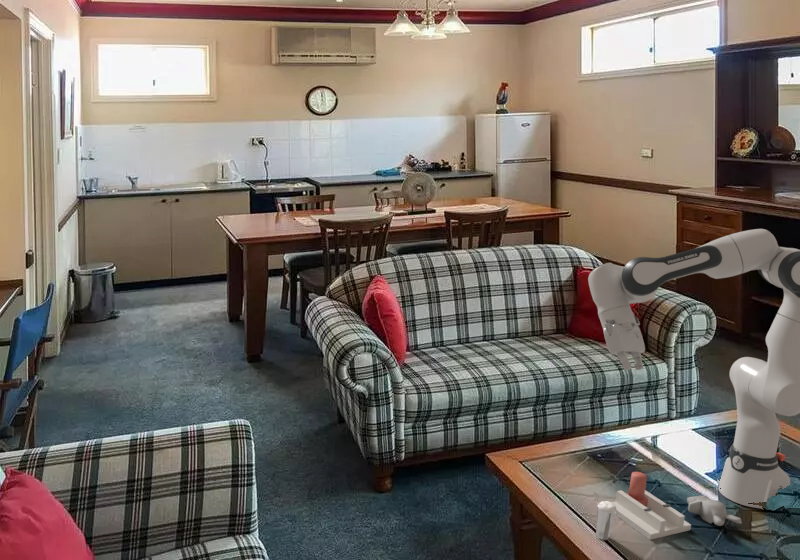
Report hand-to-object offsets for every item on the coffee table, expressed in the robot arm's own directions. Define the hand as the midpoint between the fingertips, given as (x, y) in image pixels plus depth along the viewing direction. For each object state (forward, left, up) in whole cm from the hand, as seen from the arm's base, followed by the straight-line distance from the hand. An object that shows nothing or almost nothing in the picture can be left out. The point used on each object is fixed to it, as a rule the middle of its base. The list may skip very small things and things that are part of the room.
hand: (634, 369), depth 201 cm
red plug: (+2, +9, -35) cm, 36 cm away
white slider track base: (+2, +14, -36) cm, 39 cm away
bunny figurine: (-15, +20, -37) cm, 44 cm away
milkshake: (+20, +17, -37) cm, 45 cm away
